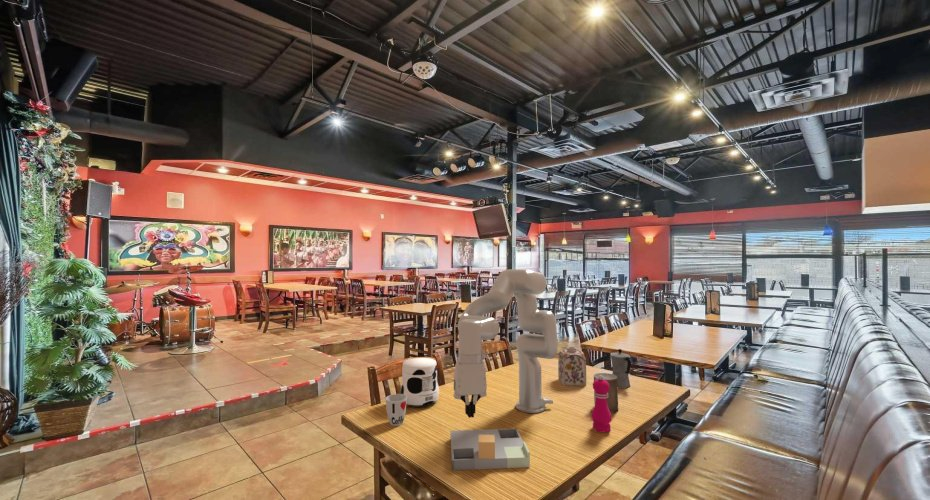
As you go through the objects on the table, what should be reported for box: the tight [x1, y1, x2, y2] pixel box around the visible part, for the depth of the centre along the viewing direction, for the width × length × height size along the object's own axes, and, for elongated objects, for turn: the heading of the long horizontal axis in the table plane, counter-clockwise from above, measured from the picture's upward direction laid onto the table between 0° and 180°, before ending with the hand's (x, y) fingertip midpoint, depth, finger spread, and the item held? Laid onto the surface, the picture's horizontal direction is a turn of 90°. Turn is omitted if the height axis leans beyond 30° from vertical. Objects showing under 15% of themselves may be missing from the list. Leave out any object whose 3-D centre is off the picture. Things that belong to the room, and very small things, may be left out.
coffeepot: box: [610, 348, 632, 389], centre depth 192 cm, size 15×9×18 cm, turn 9°
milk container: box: [399, 357, 440, 408], centre depth 172 cm, size 17×17×18 cm
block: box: [479, 435, 495, 459], centre depth 120 cm, size 5×5×5 cm
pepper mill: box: [591, 375, 613, 433], centre depth 144 cm, size 7×7×20 cm
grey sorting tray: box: [450, 428, 531, 471], centre depth 128 cm, size 24×20×4 cm
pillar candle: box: [593, 372, 619, 413], centre depth 164 cm, size 10×10×15 cm
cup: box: [385, 393, 407, 427], centre depth 150 cm, size 8×8×10 cm
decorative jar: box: [557, 346, 587, 387], centre depth 198 cm, size 12×12×18 cm
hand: (470, 415), depth 123 cm, fingers closed
